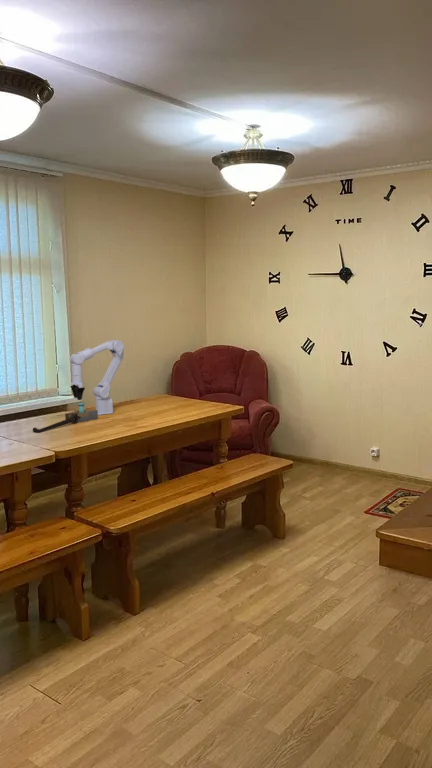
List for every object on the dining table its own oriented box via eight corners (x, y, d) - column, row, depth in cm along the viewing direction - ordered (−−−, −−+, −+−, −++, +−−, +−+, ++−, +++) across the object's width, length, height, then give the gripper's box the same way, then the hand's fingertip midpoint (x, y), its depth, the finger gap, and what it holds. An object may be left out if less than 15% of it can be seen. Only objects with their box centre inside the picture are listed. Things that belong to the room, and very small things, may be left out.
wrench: (32, 435, 320) (75, 420, 344) (38, 436, 317) (82, 421, 342) (31, 425, 319) (74, 411, 343) (37, 427, 316) (81, 412, 340)
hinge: (96, 417, 352) (95, 409, 351) (99, 419, 347) (98, 410, 346) (64, 421, 344) (63, 412, 343) (67, 423, 339) (66, 414, 338)
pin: (84, 419, 348) (83, 402, 346) (86, 420, 344) (85, 403, 343) (77, 420, 346) (76, 403, 345) (79, 421, 343) (78, 404, 341)
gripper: (66, 374, 358) (67, 397, 359) (73, 376, 345) (74, 401, 347) (79, 373, 361) (79, 396, 363) (85, 376, 348) (86, 400, 350)
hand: (77, 398), depth 355 cm, fingers open, 7 cm apart
